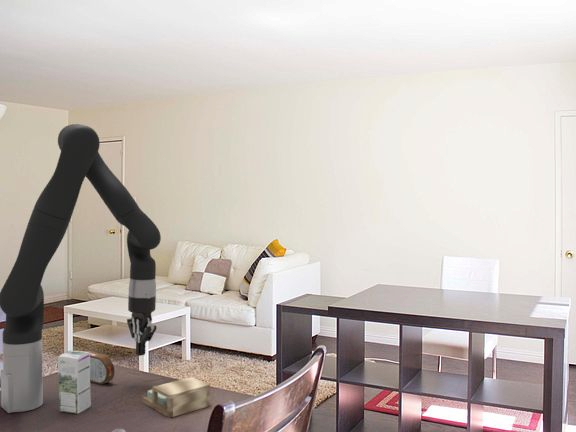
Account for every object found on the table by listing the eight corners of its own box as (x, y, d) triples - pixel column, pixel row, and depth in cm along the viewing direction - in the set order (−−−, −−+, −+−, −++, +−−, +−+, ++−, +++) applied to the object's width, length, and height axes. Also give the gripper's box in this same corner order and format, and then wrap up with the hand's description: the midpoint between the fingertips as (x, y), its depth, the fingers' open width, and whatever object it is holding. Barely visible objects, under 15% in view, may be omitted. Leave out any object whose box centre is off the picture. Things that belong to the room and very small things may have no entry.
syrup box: (91, 406, 150) (91, 351, 149) (77, 414, 144) (76, 357, 144) (72, 404, 151) (72, 349, 151) (57, 412, 146) (57, 355, 145)
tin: (115, 384, 167) (115, 355, 167) (106, 387, 164) (106, 358, 164) (81, 375, 175) (81, 347, 175) (72, 378, 172) (72, 350, 172)
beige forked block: (169, 417, 142) (169, 395, 142) (142, 403, 152) (142, 382, 152) (209, 405, 151) (209, 384, 150) (181, 392, 160) (181, 372, 160)
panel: (177, 415, 145) (177, 406, 145) (147, 399, 156) (147, 390, 156) (203, 407, 151) (203, 398, 151) (172, 392, 162) (172, 384, 161)
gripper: (118, 292, 166) (117, 351, 167) (142, 299, 156) (140, 362, 157) (142, 289, 171) (140, 347, 172) (166, 296, 162) (164, 358, 162)
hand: (140, 354), depth 164 cm, fingers closed
